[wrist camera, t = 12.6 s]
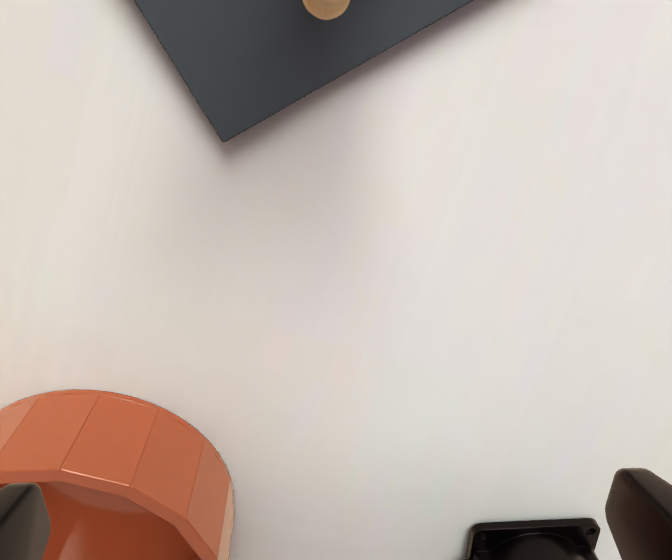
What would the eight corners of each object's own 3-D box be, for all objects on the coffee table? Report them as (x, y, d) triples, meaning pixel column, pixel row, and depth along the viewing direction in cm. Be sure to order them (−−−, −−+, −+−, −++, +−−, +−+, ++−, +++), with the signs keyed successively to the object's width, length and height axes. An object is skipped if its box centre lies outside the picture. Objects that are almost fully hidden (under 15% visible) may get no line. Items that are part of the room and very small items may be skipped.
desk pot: (221, 384, 23) (203, 463, 19) (242, 575, 28) (232, 669, 24) (-79, 394, 22) (-165, 478, 18) (1, 588, 27) (-52, 686, 23)
